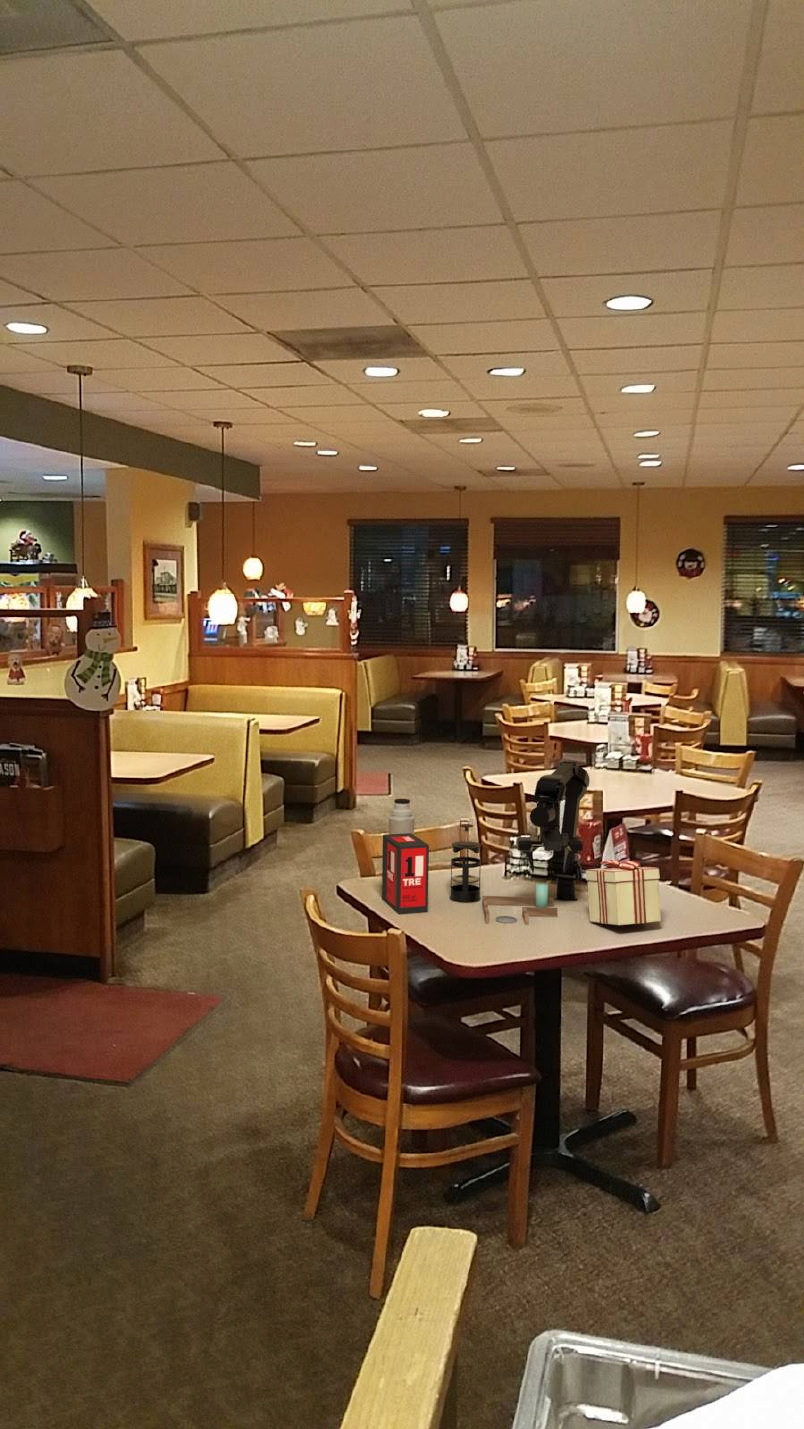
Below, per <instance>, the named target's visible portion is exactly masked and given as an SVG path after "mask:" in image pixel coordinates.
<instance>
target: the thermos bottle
mask: <svg viewBox="0 0 804 1429" xmlns="http://www.w3.org/2000/svg"><path fill="white" fill-rule="evenodd" d="M393 801H394V805H393V808H392V809H391V812H390V815H389V817H388V834H404V833H411V834H413V835H414V836H415V816H413V813H414V812H413V810H412V808H410V805H411V804H410V802H411V800H410V799H409V798H395V799H394V800H393Z"/></svg>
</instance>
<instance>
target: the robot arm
mask: <svg viewBox="0 0 804 1429" xmlns="http://www.w3.org/2000/svg"><path fill="white" fill-rule="evenodd" d="M590 781H591V780H590V775H589V773H588V771H587V769H584V767H582V766H580V765H579V763H578V762H576V761H575V760H574V761H571V760H563V761H560V763H559V766H558V767H557V768H556V769H555V770H554V771H553V772H552V773H551V774H544V775H541V777H540V778H538V780H537V781H536V786H535V789H534V794H533V798H532V802H533V803H536V807H534V808H533V809H532V810H531V812H530V814H529V820H530V822H531V824H532V825H533V826H535V827H537V828H539V840H538V839H535V840H532V839H531V838H532V837H530V836H518V837H517V838H516V840H515V842H516V843H515V844H516V845H515V846H516V849H517V850H518V851H521V852H522V853H523V854H525V855H526V857H527V860H528V863H529V867H530V869H531V873H532V874H534V872H535V866H534V864H535V863H534V852H533V849H532V848H543V849H544V851H546V852H550V851H551V852H552V858H551V859H550V863H549V868H550V869H549V870H550V871H549V872H550V878H551V879H556V892H554V893H553V895H554V897H555V900H556V901H578V897H577V895H576V885H577V884H576V882H578V881H582V880H583V870H582V867H581V866H582V865H581V863H580V861H579V860H580V856H579V851H580V852H582V851H584V843H583V841H582V839H581V838H580V837H579V836H577V830H578V821H579V813H580V812H579V811H580V805H581V801H582V799H583V798H584V797H585V795H586V793H587V792H588V791H587V790H588V787H589V785H590ZM563 801H564V805H563V814H562V823H561V802H563ZM561 824H562V825H561ZM560 826H561V828H560Z"/></svg>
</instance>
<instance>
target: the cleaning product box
mask: <svg viewBox="0 0 804 1429" xmlns="http://www.w3.org/2000/svg"><path fill="white" fill-rule="evenodd" d="M381 858H382V864H381V865H382V866H381V867H382V870H381V873H382V874H381V878H382V879H381V900H382V901H383V902H384V904H385V903H386V905H387V906H389V907H390V909H392V910H393V911H394V912H395V913H396V914H397V915H409V914H411V915H412V914H421V913H422V914H424V913H425V914H426V913H428V912H429V909H428V908H429V870H430V869H429V861H430V845H429V844H428V843H427V842H425V841H423V840H422V839H421V838H419V837H418V836H416V835H415V834H414V835H413V834H411V833H404V834H389V833H388V834H382V857H381Z"/></svg>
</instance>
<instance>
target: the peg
mask: <svg viewBox="0 0 804 1429" xmlns="http://www.w3.org/2000/svg"><path fill="white" fill-rule="evenodd" d="M535 897H536V903H535V906H534V907H546V908H548V906H547V903H548V897H549V884H548V883H545V882H538V883H535Z"/></svg>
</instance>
